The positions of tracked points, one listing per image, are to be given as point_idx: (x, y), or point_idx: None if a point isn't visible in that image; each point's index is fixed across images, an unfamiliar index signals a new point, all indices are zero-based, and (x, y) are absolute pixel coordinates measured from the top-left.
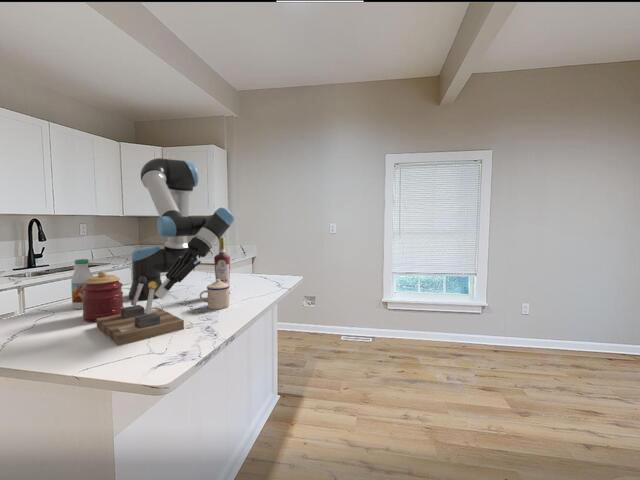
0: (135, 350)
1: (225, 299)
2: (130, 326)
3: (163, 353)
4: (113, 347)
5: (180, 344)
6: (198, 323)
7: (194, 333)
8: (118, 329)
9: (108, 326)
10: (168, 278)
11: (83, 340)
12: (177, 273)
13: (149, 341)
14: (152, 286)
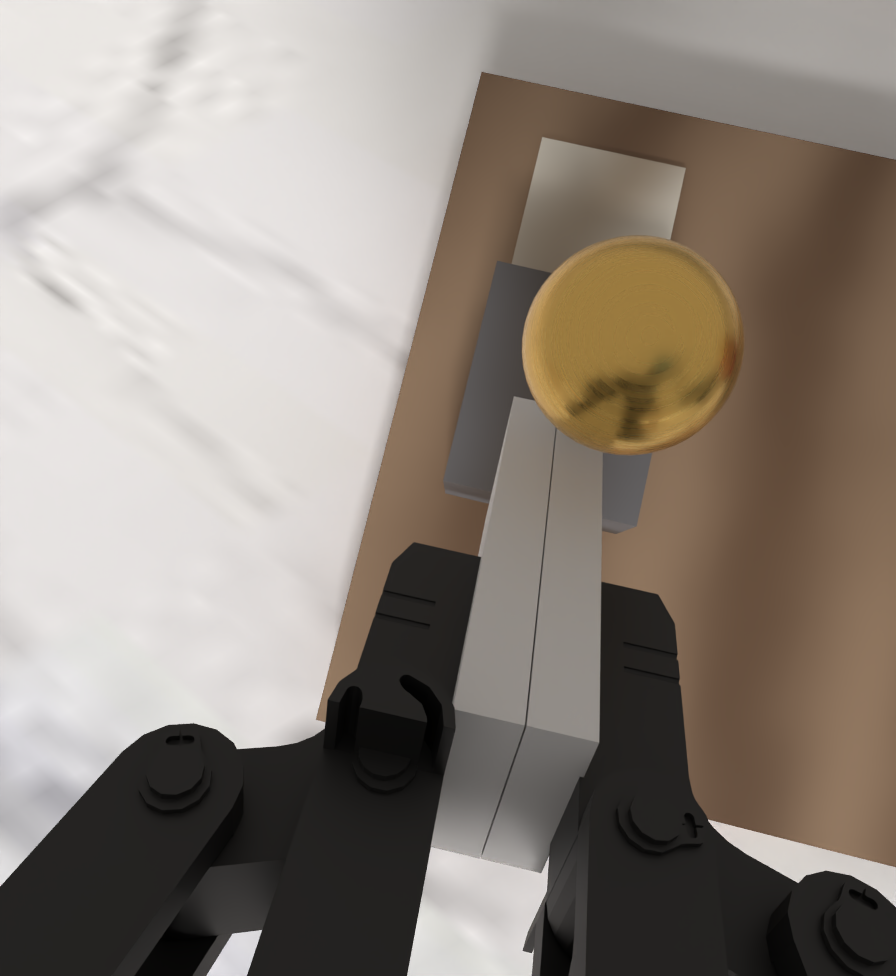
0: (257, 147)
1: None
2: None
3: (2, 223)
4: None
5: (28, 412)
6: None
7: (129, 668)
8: (646, 162)
9: (838, 164)
10: (592, 798)
11: (860, 45)
12: (130, 949)
13: (334, 317)
14: (543, 286)
